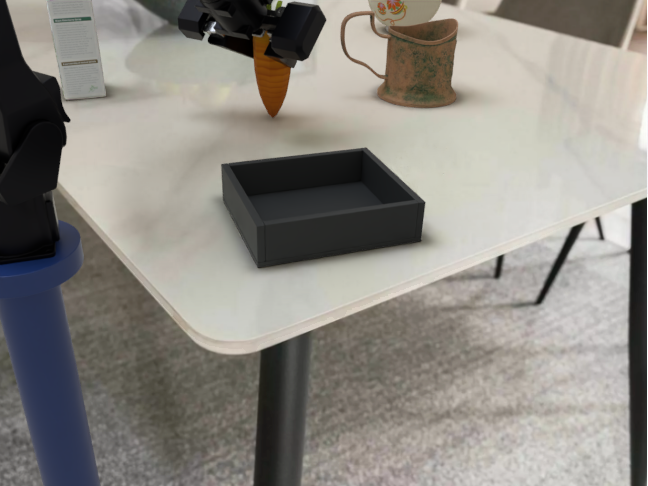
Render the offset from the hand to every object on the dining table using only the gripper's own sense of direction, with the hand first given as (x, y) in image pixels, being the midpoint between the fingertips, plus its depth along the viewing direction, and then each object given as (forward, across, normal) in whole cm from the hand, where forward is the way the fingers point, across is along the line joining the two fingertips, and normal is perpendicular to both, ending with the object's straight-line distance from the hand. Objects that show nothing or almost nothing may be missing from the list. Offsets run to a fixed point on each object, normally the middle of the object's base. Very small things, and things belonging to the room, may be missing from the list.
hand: (278, 61), depth 87 cm
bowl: (+44, +10, -34) cm, 56 cm away
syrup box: (-2, +27, +12) cm, 30 cm away
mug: (+17, -9, -7) cm, 20 cm away
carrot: (+4, 0, +6) cm, 7 cm away
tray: (-10, -21, +20) cm, 31 cm away
